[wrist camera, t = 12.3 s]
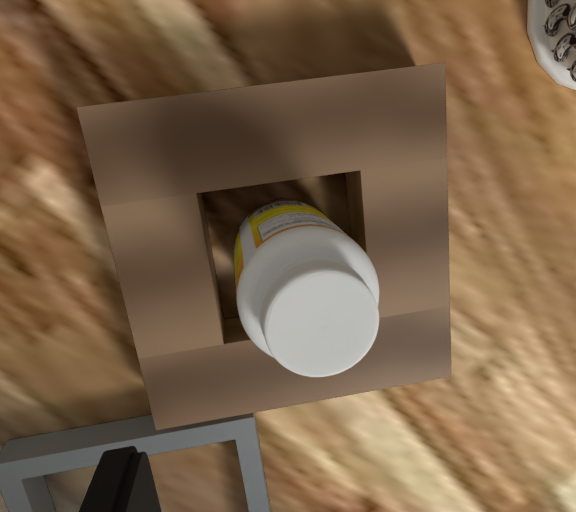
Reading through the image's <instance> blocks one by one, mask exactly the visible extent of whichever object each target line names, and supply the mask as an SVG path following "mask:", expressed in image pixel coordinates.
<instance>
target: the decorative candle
mask: <svg viewBox="0 0 576 512" xmlns="http://www.w3.org/2000/svg"><path fill="white" fill-rule="evenodd" d="M527 34H528V37H529V40H530V43H531V46H532V49H533V52H534V55H535V58H536V61H537V63H538V64H539V65H540V66H541V67H542V68H543V70H544V71H545V72H546V73H547V74H548V75H549V76H550V77H551V78H552V79H553V80H554V81H555V82H556V83H557V84H559V85H562V86H565V87H567V88H570V89H573V90H576V0H528V8H527Z"/></svg>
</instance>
